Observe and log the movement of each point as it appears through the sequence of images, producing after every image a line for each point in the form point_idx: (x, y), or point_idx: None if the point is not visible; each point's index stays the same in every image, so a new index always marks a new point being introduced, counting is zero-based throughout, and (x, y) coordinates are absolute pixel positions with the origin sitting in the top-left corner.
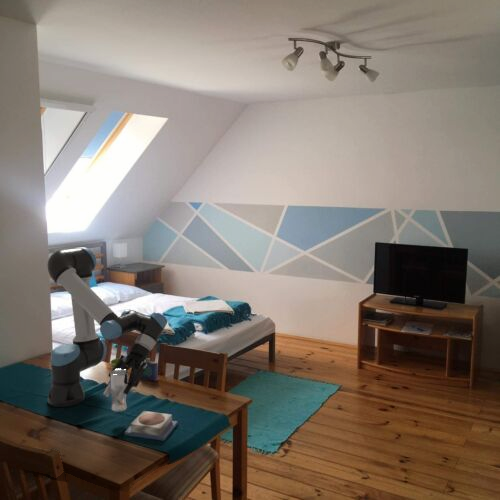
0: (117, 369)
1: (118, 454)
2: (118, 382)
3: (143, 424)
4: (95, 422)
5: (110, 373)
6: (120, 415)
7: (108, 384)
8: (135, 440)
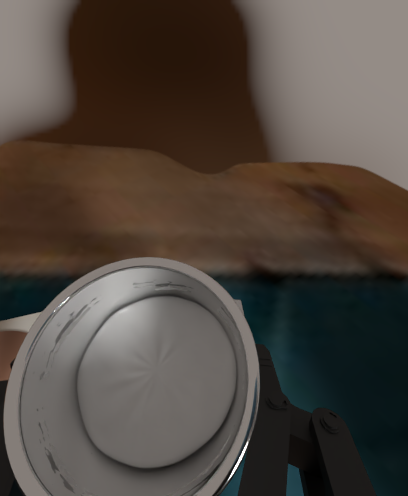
0: (232, 454)
1: (61, 212)
2: (108, 295)
3: (11, 329)
4: (249, 323)
5: (339, 441)
6: None
7: (261, 355)
8: (49, 291)
